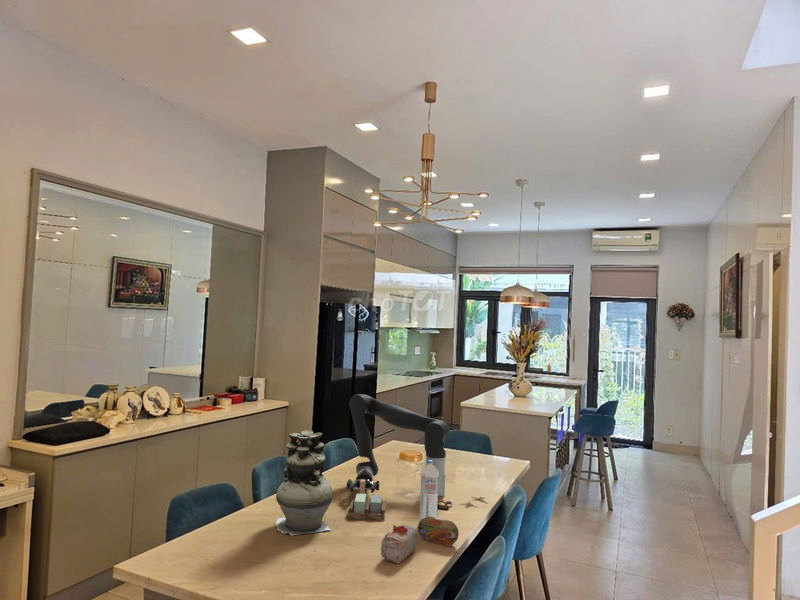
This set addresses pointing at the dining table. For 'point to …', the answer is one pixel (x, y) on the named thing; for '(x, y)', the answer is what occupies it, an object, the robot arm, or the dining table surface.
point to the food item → (398, 543)
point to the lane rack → (366, 514)
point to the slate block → (375, 504)
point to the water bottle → (428, 491)
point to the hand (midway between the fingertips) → (362, 490)
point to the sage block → (360, 499)
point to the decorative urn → (304, 486)
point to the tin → (438, 531)
